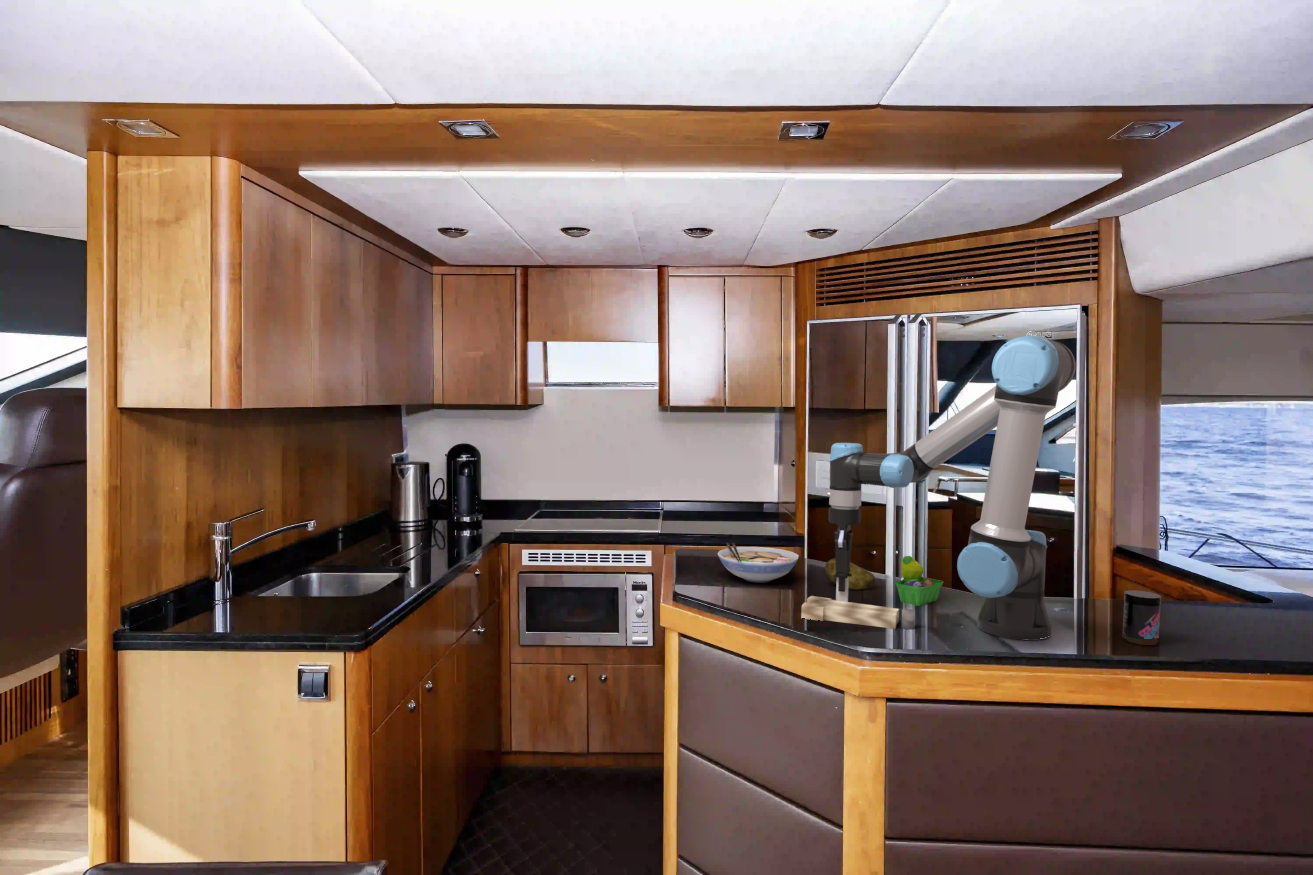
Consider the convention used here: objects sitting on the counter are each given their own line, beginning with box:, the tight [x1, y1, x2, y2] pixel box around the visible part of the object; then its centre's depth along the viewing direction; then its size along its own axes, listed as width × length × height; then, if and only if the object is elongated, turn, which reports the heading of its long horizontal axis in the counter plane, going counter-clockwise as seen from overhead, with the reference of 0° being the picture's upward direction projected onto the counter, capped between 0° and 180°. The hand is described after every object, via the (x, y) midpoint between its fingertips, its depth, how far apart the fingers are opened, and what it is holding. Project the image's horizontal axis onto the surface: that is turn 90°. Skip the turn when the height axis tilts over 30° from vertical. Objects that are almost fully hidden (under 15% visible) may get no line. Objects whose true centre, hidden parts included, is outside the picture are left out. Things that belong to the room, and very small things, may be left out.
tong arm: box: [806, 595, 900, 625], centre depth 184 cm, size 21×3×3 cm, turn 62°
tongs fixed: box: [800, 601, 916, 630], centre depth 180 cm, size 25×5×4 cm, turn 68°
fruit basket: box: [895, 555, 944, 607], centre depth 201 cm, size 11×9×11 cm
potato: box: [824, 557, 876, 590], centre depth 213 cm, size 8×13×8 cm, turn 64°
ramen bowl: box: [717, 542, 800, 584], centre depth 221 cm, size 25×23×8 cm
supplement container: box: [1122, 589, 1162, 639], centre depth 169 cm, size 7×7×10 cm
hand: (841, 603), depth 190 cm, fingers closed
